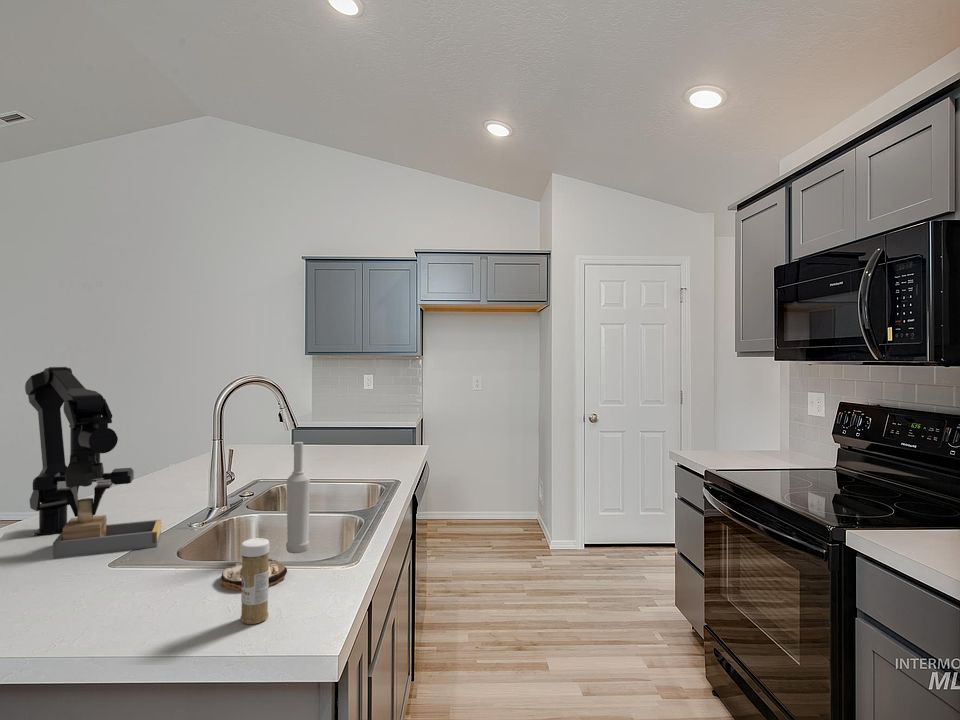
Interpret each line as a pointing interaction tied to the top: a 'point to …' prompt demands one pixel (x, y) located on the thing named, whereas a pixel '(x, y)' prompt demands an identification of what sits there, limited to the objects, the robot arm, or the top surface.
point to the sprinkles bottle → (254, 580)
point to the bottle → (298, 505)
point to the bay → (111, 540)
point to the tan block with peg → (85, 523)
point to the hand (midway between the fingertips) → (85, 515)
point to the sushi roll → (234, 575)
